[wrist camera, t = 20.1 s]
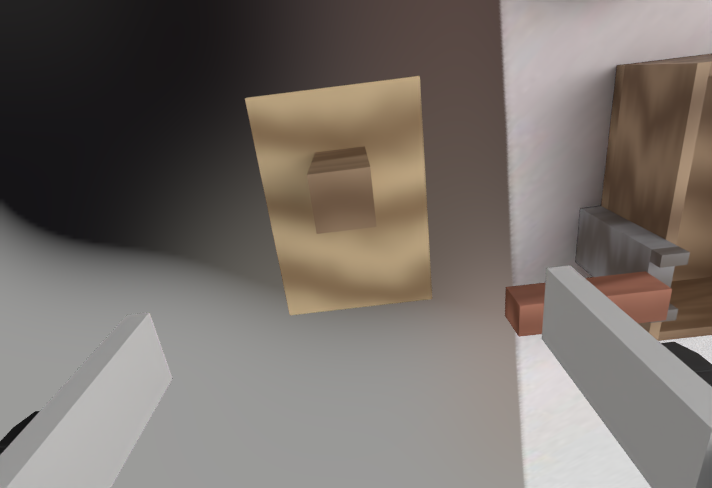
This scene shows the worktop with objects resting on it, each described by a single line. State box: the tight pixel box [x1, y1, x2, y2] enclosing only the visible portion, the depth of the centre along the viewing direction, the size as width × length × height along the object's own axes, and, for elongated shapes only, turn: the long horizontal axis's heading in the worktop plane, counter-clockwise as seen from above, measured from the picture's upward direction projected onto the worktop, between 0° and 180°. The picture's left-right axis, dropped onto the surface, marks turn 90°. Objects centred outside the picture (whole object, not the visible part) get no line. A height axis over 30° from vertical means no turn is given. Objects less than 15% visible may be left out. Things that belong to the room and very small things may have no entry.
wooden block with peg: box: [245, 76, 432, 315], centre depth 32 cm, size 19×13×9 cm
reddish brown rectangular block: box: [505, 271, 672, 336], centre depth 28 cm, size 2×10×2 cm, turn 97°
